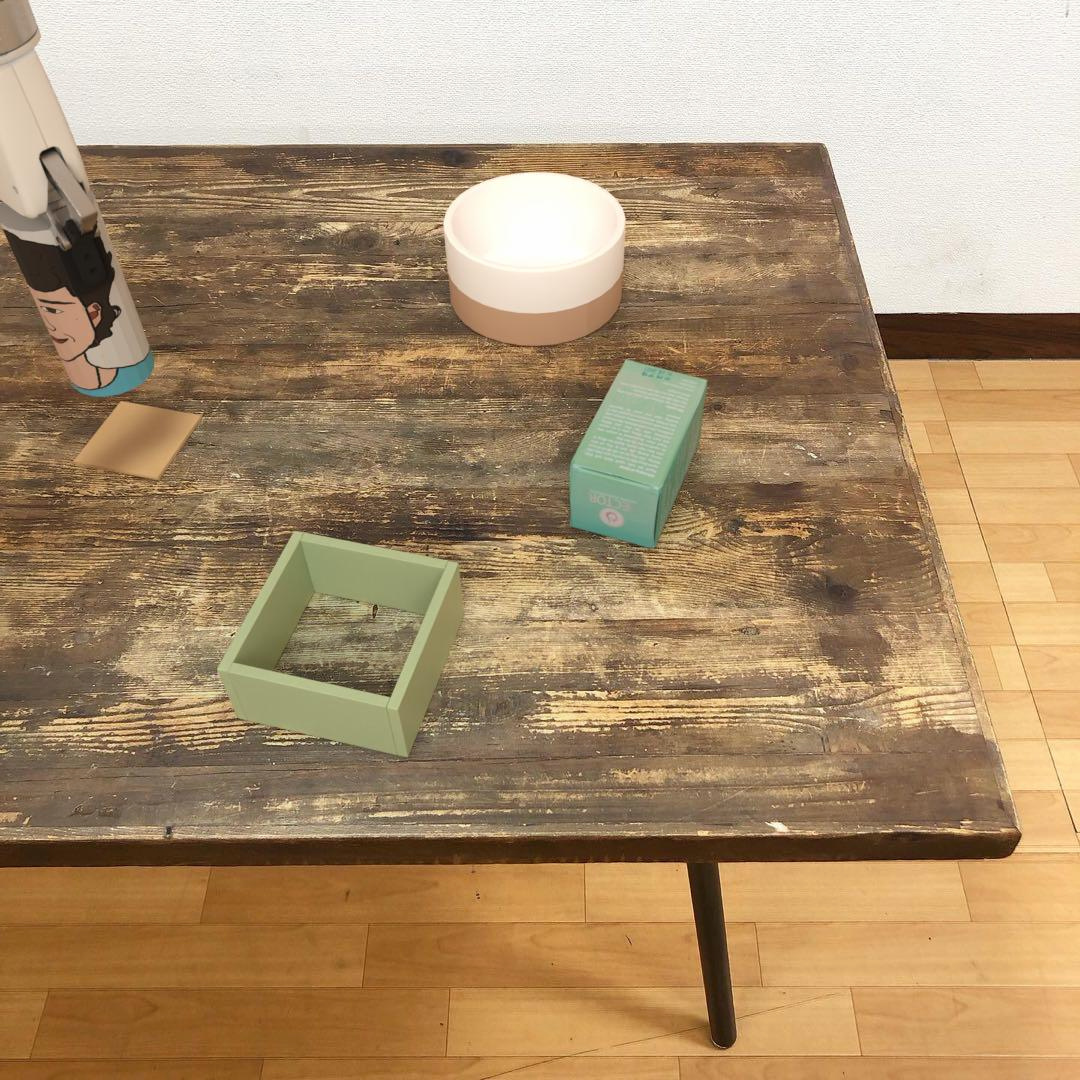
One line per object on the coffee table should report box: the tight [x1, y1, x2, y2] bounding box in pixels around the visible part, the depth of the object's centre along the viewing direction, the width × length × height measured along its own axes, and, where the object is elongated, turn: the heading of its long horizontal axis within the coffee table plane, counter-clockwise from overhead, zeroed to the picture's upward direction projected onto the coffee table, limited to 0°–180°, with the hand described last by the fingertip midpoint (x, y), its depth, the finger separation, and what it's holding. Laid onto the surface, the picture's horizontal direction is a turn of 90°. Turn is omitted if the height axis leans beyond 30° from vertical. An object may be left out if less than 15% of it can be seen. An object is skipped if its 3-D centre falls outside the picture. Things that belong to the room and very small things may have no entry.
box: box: [568, 359, 708, 549], centre depth 86 cm, size 7×14×8 cm, turn 159°
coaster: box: [73, 400, 203, 481], centre depth 93 cm, size 8×8×1 cm
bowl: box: [442, 171, 627, 347], centre depth 103 cm, size 17×17×8 cm
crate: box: [216, 530, 465, 758], centre depth 75 cm, size 13×13×6 cm
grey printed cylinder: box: [0, 187, 155, 398], centre depth 82 cm, size 7×7×15 cm
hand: (68, 264), depth 80 cm, fingers closed on grey printed cylinder, 6 cm apart
